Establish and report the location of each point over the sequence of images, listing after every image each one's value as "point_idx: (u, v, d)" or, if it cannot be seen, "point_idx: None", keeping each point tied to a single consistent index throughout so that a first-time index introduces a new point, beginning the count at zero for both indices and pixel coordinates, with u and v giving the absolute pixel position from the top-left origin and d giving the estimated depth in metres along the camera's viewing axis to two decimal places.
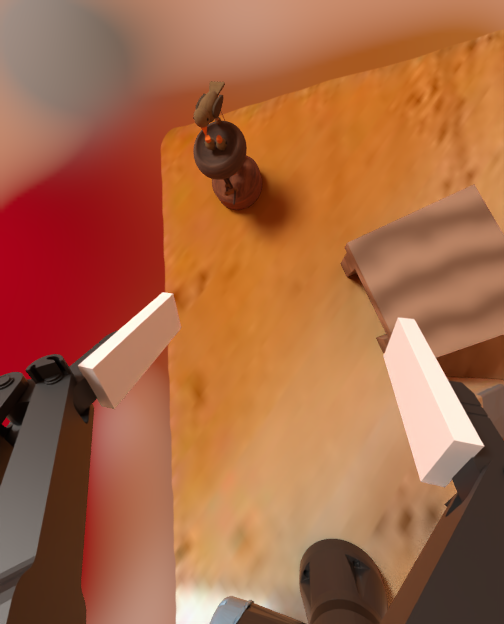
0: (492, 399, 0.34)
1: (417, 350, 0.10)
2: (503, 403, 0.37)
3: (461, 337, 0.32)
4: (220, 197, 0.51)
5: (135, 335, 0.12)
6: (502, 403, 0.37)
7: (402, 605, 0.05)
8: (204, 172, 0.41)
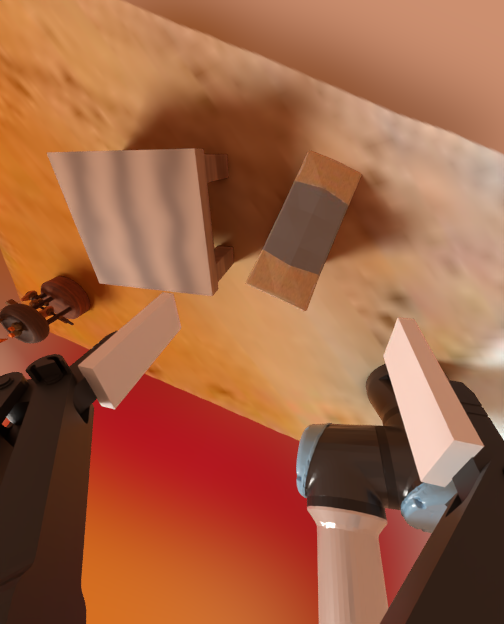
0: (283, 225, 0.31)
1: (417, 350, 0.10)
2: (307, 198, 0.32)
3: (195, 243, 0.31)
4: (75, 317, 0.60)
5: (135, 335, 0.12)
6: (305, 201, 0.32)
7: (402, 605, 0.05)
8: (40, 341, 0.52)
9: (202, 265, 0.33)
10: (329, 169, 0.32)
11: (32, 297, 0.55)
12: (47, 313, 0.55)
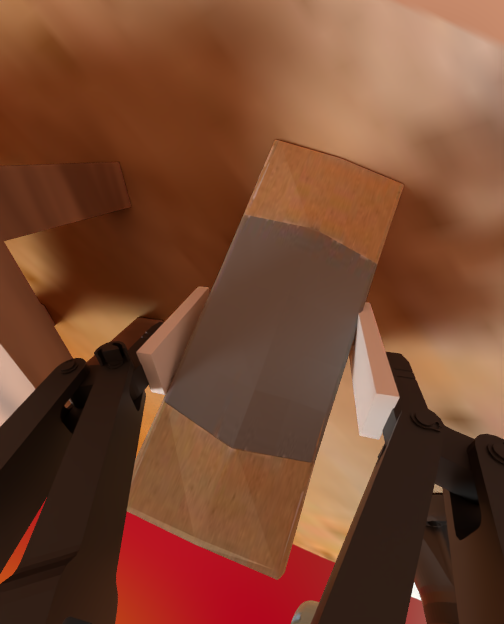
0: (215, 332, 0.12)
1: (365, 327, 0.12)
2: (275, 256, 0.13)
3: (9, 377, 0.13)
4: None
5: (181, 325, 0.13)
6: (269, 265, 0.13)
7: (343, 549, 0.06)
8: None
9: None
10: (325, 181, 0.14)
11: None
12: None
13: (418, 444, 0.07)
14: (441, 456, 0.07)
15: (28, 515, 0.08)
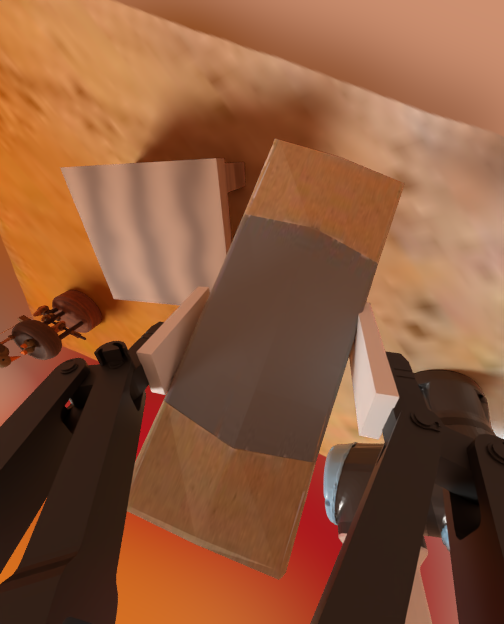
0: (215, 332, 0.12)
1: (365, 327, 0.12)
2: (275, 256, 0.13)
3: (215, 256, 0.30)
4: (86, 331, 0.59)
5: (181, 325, 0.13)
6: (269, 264, 0.13)
7: (343, 549, 0.06)
8: None
9: None
10: (325, 180, 0.14)
11: (44, 312, 0.54)
12: (59, 328, 0.54)
13: (418, 444, 0.07)
14: (441, 456, 0.07)
15: (28, 515, 0.08)
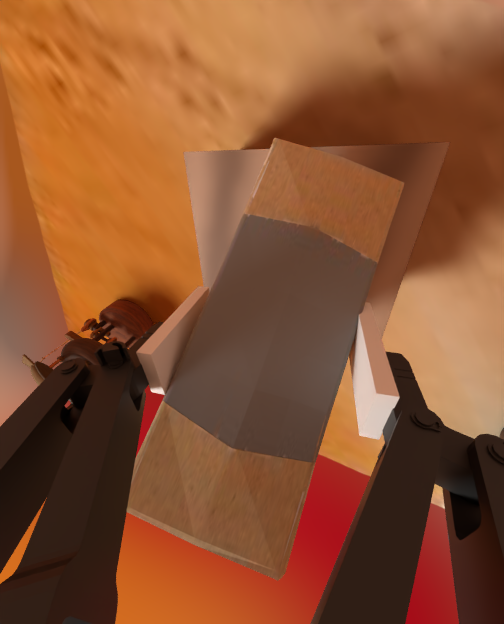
0: (214, 331, 0.12)
1: (365, 327, 0.12)
2: (274, 255, 0.13)
3: (385, 277, 0.22)
4: None
5: (181, 325, 0.13)
6: (269, 264, 0.13)
7: (343, 549, 0.06)
8: None
9: (382, 306, 0.24)
10: (325, 179, 0.14)
11: (92, 326, 0.46)
12: None
13: (418, 444, 0.07)
14: (441, 456, 0.07)
15: (28, 515, 0.08)
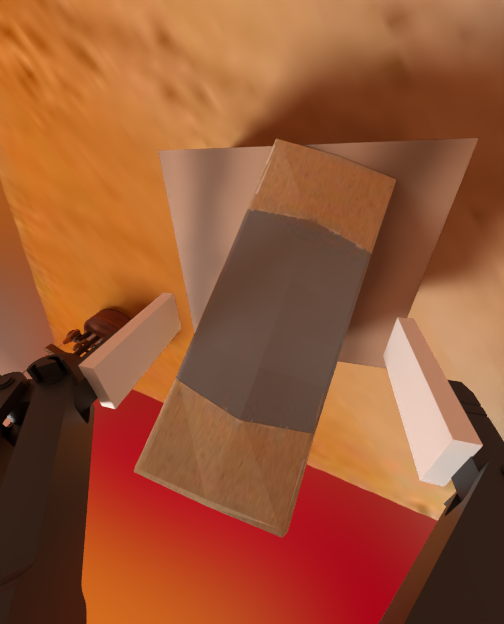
0: (222, 316, 0.13)
1: (416, 350, 0.10)
2: (276, 247, 0.14)
3: (394, 296, 0.19)
4: None
5: (136, 335, 0.12)
6: (271, 254, 0.14)
7: (401, 604, 0.05)
8: None
9: (390, 328, 0.21)
10: (323, 177, 0.15)
11: (75, 338, 0.43)
12: None
13: None
14: None
15: None
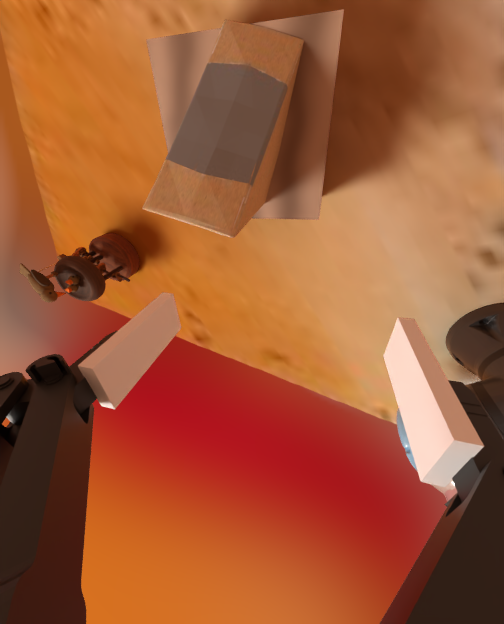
0: (192, 123, 0.21)
1: (417, 350, 0.10)
2: (225, 82, 0.22)
3: (314, 148, 0.27)
4: (124, 278, 0.56)
5: (135, 335, 0.12)
6: (222, 86, 0.22)
7: (402, 605, 0.05)
8: (97, 298, 0.48)
9: (315, 178, 0.29)
10: (254, 40, 0.23)
11: (82, 254, 0.51)
12: (100, 270, 0.51)
13: None
14: None
15: None
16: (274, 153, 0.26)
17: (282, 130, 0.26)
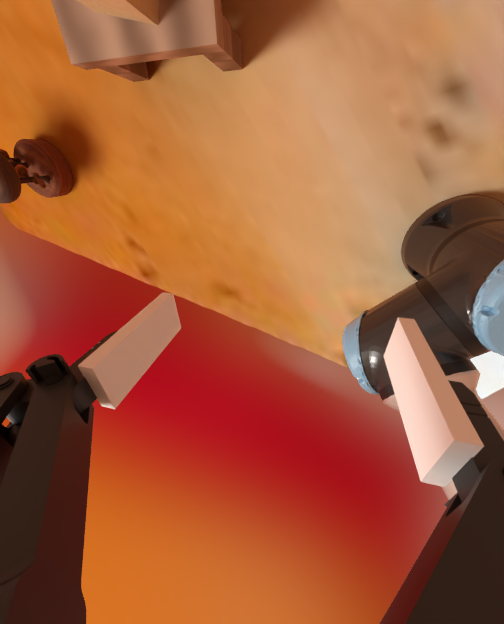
0: None
1: (417, 350, 0.10)
2: None
3: None
4: (55, 193, 0.52)
5: (135, 335, 0.12)
6: None
7: (402, 605, 0.05)
8: (10, 198, 0.44)
9: None
10: None
11: None
12: (19, 173, 0.46)
13: None
14: None
15: None
16: None
17: None
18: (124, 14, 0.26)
